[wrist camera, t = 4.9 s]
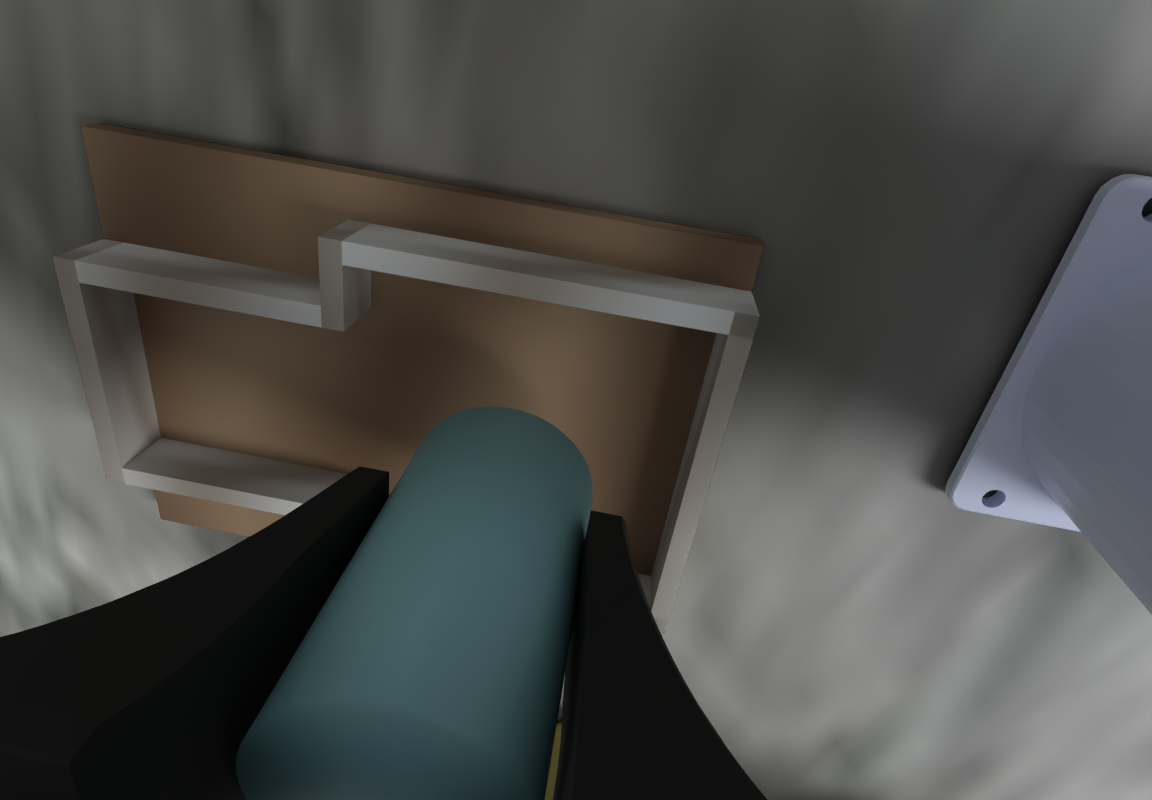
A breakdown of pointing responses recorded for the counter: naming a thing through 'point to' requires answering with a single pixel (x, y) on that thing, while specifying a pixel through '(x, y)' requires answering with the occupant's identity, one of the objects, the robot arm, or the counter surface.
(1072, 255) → the robot arm
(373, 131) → the counter surface
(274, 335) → the brown tray
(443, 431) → the peg
